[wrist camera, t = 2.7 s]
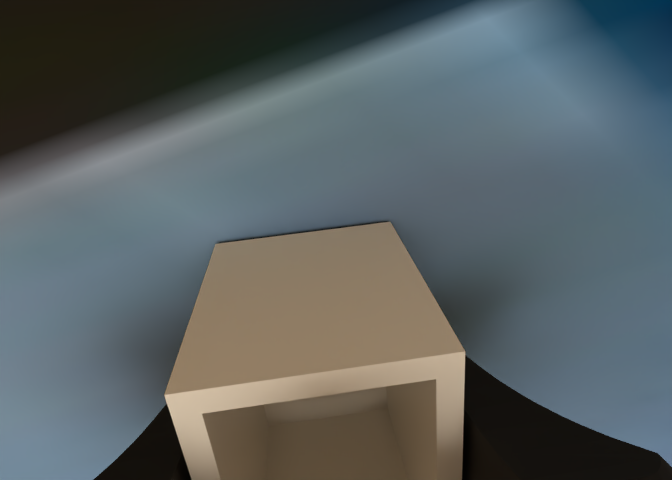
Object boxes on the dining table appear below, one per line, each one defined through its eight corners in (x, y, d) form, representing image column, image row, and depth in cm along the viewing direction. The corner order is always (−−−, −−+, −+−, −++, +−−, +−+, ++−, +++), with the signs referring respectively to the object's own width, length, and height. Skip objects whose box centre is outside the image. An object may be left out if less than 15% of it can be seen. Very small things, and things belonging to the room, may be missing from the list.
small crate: (390, 221, 13) (465, 351, 8) (399, 406, 16) (458, 596, 11) (215, 243, 13) (164, 395, 7) (256, 428, 16) (241, 634, 10)
